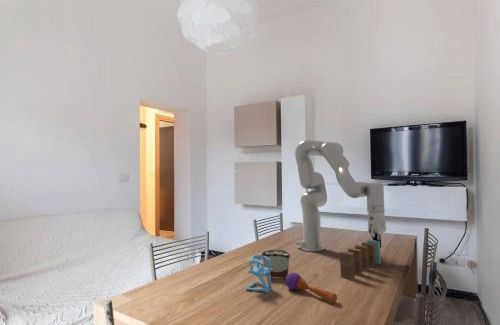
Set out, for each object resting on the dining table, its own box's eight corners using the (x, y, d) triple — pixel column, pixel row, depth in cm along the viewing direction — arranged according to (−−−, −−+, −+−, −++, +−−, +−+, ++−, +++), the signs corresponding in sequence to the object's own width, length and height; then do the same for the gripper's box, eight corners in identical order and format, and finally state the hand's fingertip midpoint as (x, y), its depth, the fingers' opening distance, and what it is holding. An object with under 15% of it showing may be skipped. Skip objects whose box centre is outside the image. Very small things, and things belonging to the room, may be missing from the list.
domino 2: (360, 275, 120) (359, 250, 120) (348, 272, 123) (347, 248, 123) (362, 274, 121) (361, 249, 121) (350, 271, 125) (350, 247, 125)
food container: (294, 274, 123) (293, 250, 123) (291, 279, 117) (290, 254, 118) (265, 271, 127) (265, 248, 128) (261, 276, 121) (261, 252, 122)
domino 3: (367, 271, 124) (366, 247, 124) (355, 268, 128) (355, 245, 128) (369, 270, 125) (368, 246, 126) (357, 267, 129) (357, 244, 129)
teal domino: (379, 264, 133) (378, 242, 133) (368, 261, 137) (367, 240, 137) (381, 262, 135) (379, 241, 134) (370, 260, 138) (369, 239, 138)
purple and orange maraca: (328, 294, 93) (281, 274, 108) (329, 311, 94) (283, 289, 109) (338, 286, 97) (291, 267, 112) (339, 302, 98) (293, 282, 113)
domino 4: (373, 267, 129) (372, 244, 129) (362, 265, 132) (361, 242, 133) (375, 266, 130) (374, 243, 130) (364, 264, 134) (363, 242, 134)
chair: (265, 295, 103) (264, 260, 103) (245, 290, 107) (245, 257, 108) (275, 287, 110) (274, 255, 110) (256, 283, 114) (255, 252, 114)
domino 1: (352, 279, 115) (351, 254, 115) (340, 276, 119) (340, 251, 119) (355, 278, 116) (354, 253, 117) (343, 275, 120) (342, 250, 120)
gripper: (377, 211, 131) (378, 252, 130) (389, 207, 141) (391, 246, 140) (360, 209, 136) (362, 249, 135) (374, 206, 146) (375, 243, 146)
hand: (377, 247), depth 138 cm, fingers closed
